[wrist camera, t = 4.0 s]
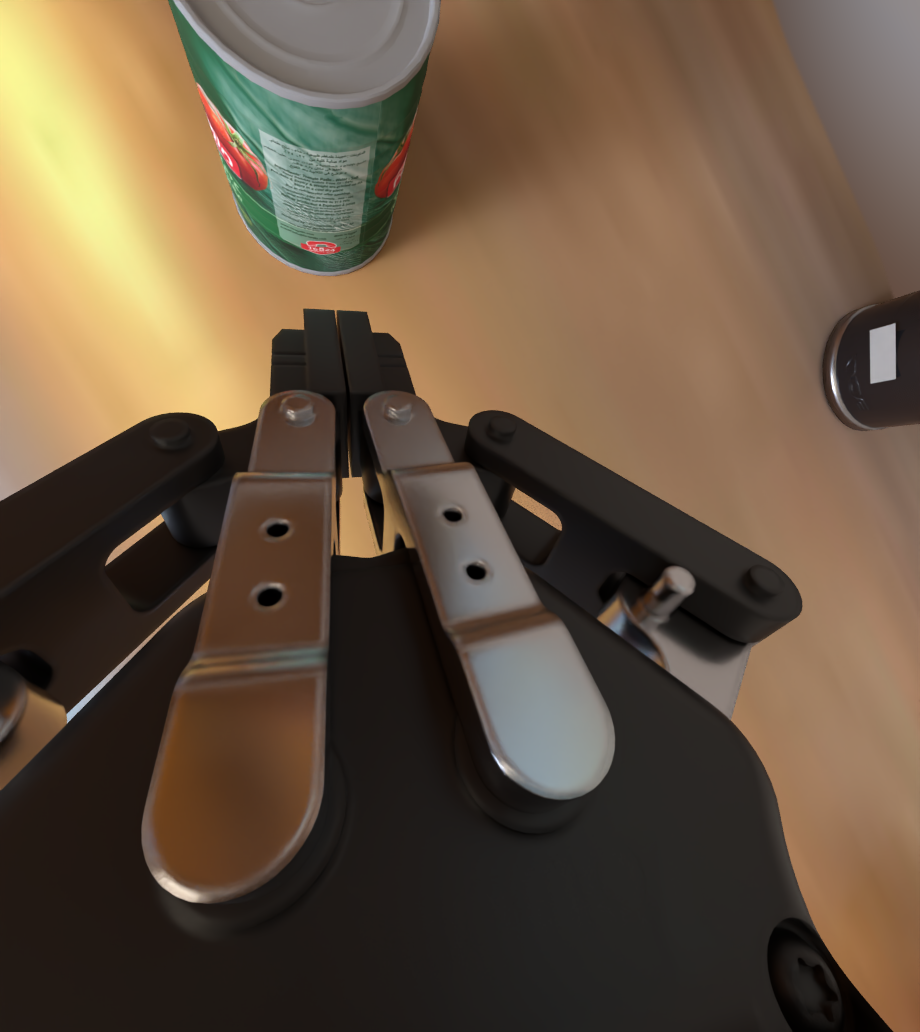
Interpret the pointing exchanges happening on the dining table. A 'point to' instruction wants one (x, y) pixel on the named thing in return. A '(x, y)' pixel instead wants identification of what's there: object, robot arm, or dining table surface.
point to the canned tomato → (311, 115)
